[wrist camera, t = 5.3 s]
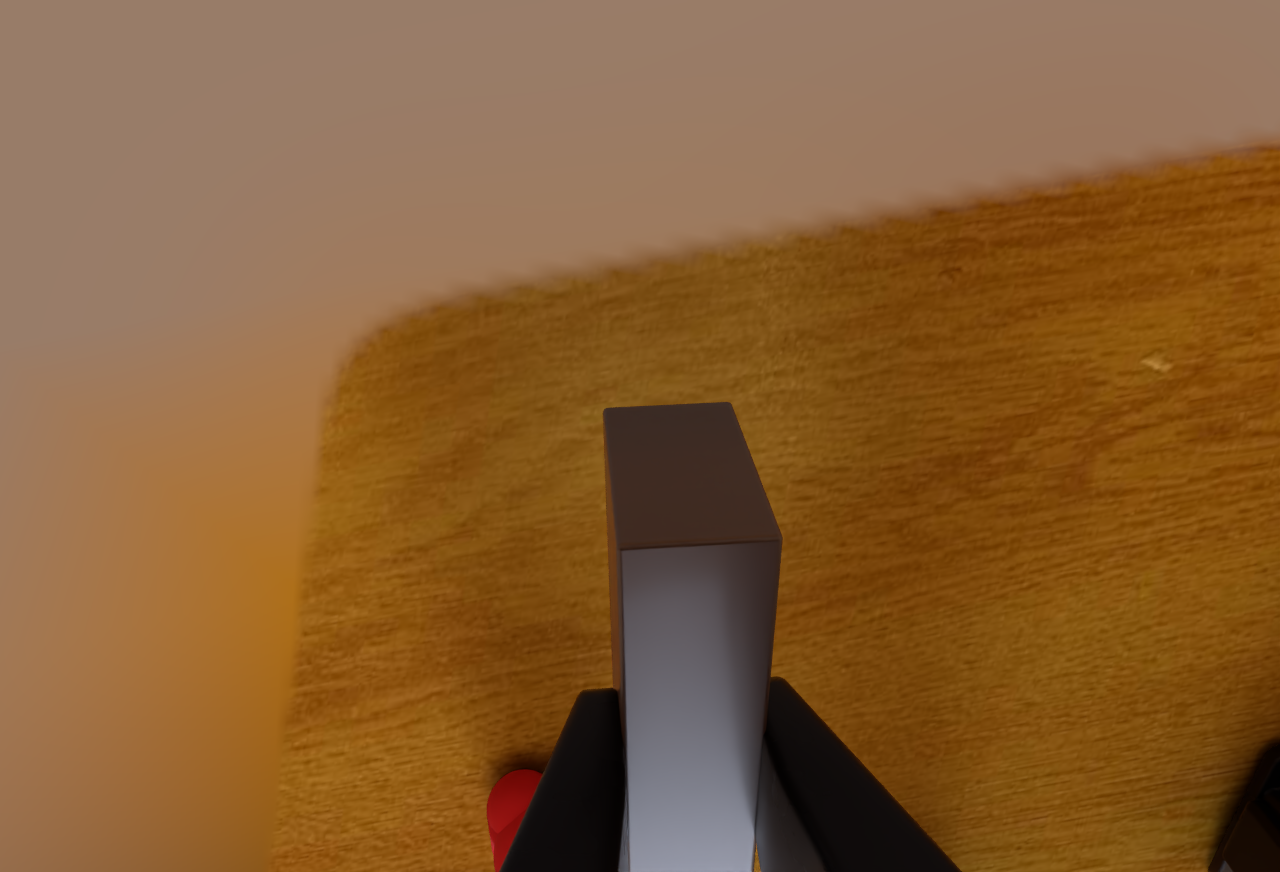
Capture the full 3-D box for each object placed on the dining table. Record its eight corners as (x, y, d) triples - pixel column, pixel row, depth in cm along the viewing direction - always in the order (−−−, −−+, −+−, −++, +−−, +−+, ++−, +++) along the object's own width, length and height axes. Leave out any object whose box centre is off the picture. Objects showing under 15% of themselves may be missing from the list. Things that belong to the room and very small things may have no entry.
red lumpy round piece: (613, 747, 24) (620, 871, 21) (616, 825, 26) (623, 951, 23) (486, 755, 24) (473, 882, 21) (497, 833, 26) (486, 962, 22)
